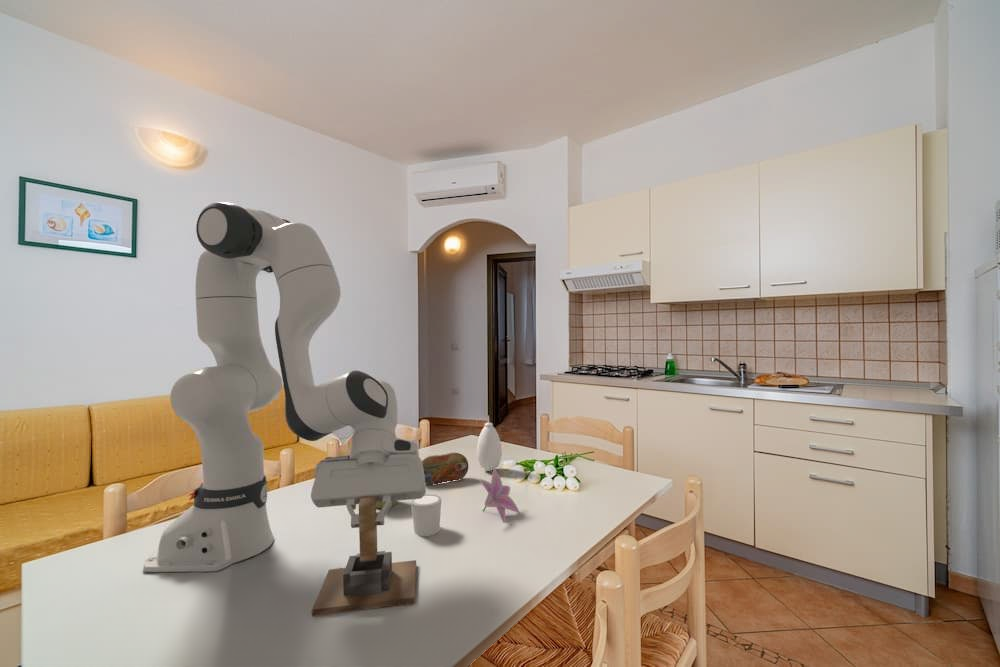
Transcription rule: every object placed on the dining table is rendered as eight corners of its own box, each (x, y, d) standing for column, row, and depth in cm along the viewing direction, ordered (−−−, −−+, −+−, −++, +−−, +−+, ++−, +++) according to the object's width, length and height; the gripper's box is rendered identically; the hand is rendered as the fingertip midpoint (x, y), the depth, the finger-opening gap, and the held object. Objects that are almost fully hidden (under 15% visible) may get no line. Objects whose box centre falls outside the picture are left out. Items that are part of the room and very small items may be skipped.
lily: (477, 532, 99) (496, 498, 98) (457, 497, 109) (474, 465, 107) (516, 533, 106) (534, 501, 105) (494, 500, 116) (511, 470, 114)
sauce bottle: (506, 470, 140) (505, 414, 140) (489, 476, 135) (488, 418, 135) (489, 465, 146) (488, 412, 146) (472, 471, 140) (471, 415, 140)
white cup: (436, 538, 94) (435, 506, 94) (406, 536, 96) (405, 504, 96) (446, 524, 101) (445, 494, 101) (418, 522, 103) (417, 493, 103)
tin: (420, 487, 126) (419, 458, 127) (418, 484, 129) (417, 456, 129) (469, 479, 132) (468, 452, 133) (465, 476, 135) (465, 449, 135)
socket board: (312, 615, 69) (311, 587, 69) (328, 574, 81) (328, 550, 81) (414, 603, 72) (413, 576, 72) (416, 565, 83) (415, 542, 83)
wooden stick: (360, 561, 75) (358, 503, 75) (362, 554, 77) (360, 498, 77) (375, 560, 75) (374, 502, 75) (377, 552, 78) (375, 496, 78)
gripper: (314, 449, 81) (300, 523, 72) (424, 442, 85) (425, 512, 75) (320, 466, 86) (308, 538, 76) (425, 458, 89) (426, 526, 79)
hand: (367, 525), depth 76 cm, fingers closed on wooden stick, 3 cm apart
